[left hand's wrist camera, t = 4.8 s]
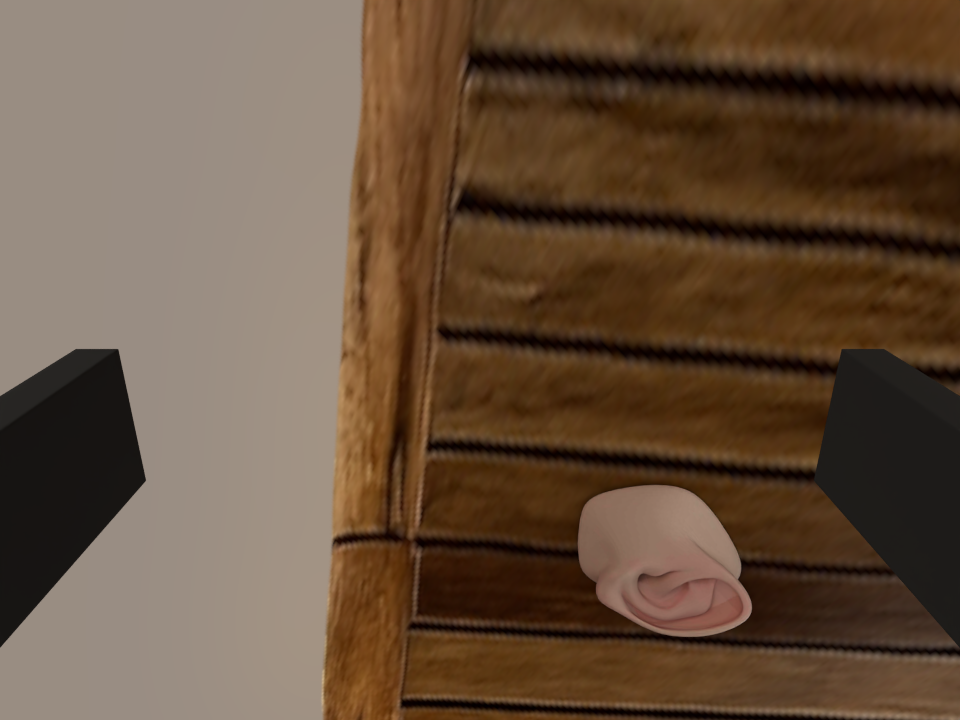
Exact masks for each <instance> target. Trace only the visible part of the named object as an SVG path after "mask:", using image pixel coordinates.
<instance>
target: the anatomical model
mask: <svg viewBox="0 0 960 720" xmlns="http://www.w3.org/2000/svg"><path fill="white" fill-rule="evenodd" d="M578 552H579V561H580V565H581V568H582V570H583V571H584V573H585V574H586V575H587V576H588V577H589V578H590V579H592V580H593V581H595V582H596V583H597V585H596V594H597V596H598V599H599V600H600V601H601V602H602V603H603V604H604V605H606V606H607V607H609V608H611V609H613V610H614V611H616V612H618V613H620V614H621V615H623V616H625V617H627V618H628V619H630V620H632V621H633V622H635V623H637V624H639V625H641V626H643V627H645V628H647V629H649V630H652V631H655V632H658V633H661V634H666V635H671V636H682V637H697V636H707V635H712V634H717V633H720V632H724V631H727V630H729V629H732V628H734V627H736V626H738V625H740V624H741V623H743V622H744V621H746V620H747V619H748V617H749V616H750V614H751V610H752V605H751V600H750V597H749V595H748V593H747V592H746V590H745V589H744V587H743V586H742V584H741V583H740V582H739V581H738V578H739V576H740V573H741V562H740V558H739V556H738V553H737V551H736V549H735V547H734V545H733V543H732V541H731V539H730V537H729V536H728V534H727V532H726V531H725V529H724V528H723V526H722V525H721V523H720V522H719V520H718V519H717V517H716V516H715V515H714V513H713V512H712V511H711V510H710V508H709V507H708V506H707V505H706V504H705V503H704V502H703V501H702V500H701V499H700V498H699V497H697V496H696V495H695V494H693V493H691V492H690V491H688V490H685V489H682V488H679V487H674V486H667V485H644V486H635V487H628V488H622V489H617V490H613V491H609V492H605V493H602V494H599V495H597V496H595V497H593V498H592V499H590V500H589V501H588V502H587V503H586V505H585V506H584V508H583V511H582V514H581V518H580V524H579V534H578Z"/></svg>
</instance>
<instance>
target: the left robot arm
mask: <svg viewBox="0 0 960 720" xmlns="http://www.w3.org/2000/svg"><path fill="white" fill-rule="evenodd" d="M145 481H146V478H145V474H144V469H143V464H142V459H141V455H140V450H139V445H138V440H137V436H136V431H135V426H134V422H133V417H132V412H131V407H130V403H129V398H128V393H127V389H126V384H125V379H124V374H123V370H122V365H121V360H120V355H119V351H118V349H75V350H74V351H72V352H71V353H69V354H67V355H66V356H64V357H63V358H61V359H59V360H58V361H56V362H55V363H53V364H51V365H50V366H48V367H46V368H45V369H43V370H42V371H40V372H38V373H37V374H35V375H34V376H32V377H30V378H29V379H27V380H26V381H24V382H22V383H21V384H19V385H18V386H16V387H14V388H13V389H11V390H9V391H8V392H6V393H5V394H3V395H1V396H0V647H1V646H2V645H3V644H4V643H5V641H6V640H7V639H8V638H9V637H10V636H11V635H12V633H13V632H14V631H15V630H16V629H17V628H18V627H19V625H20V624H21V623H22V622H23V621H24V620H25V619H26V617H27V616H28V615H29V614H30V613H31V612H32V611H33V609H34V608H35V607H36V606H37V605H38V604H39V603H40V601H41V600H42V599H43V598H44V597H45V596H46V595H47V593H48V592H49V591H50V590H51V589H52V588H53V587H54V585H55V584H56V583H57V582H58V581H59V580H60V578H61V577H62V576H63V575H64V574H65V573H66V572H67V570H68V569H69V568H70V567H71V566H72V565H73V564H74V562H75V561H76V560H77V559H78V558H79V557H80V556H81V554H82V553H83V552H84V551H85V550H86V549H87V548H88V546H89V545H90V544H91V543H92V542H93V541H94V540H95V538H96V537H97V536H98V535H99V534H100V533H101V532H102V530H103V529H104V528H105V527H106V526H107V525H108V524H109V522H110V521H111V520H112V519H113V518H114V517H115V516H116V514H117V513H118V512H119V511H120V510H121V509H122V507H123V506H124V505H125V504H126V503H127V502H128V501H129V499H130V498H131V497H132V496H133V495H134V494H135V493H136V491H137V490H138V489H139V488H140V487H141V486H142V485H143V483H144V482H145ZM814 481H815V482H816V483H817V485H818V486H819V487H820V488H821V489H822V490H823V491H824V493H825V494H826V495H827V496H828V497H829V498H830V499H831V501H832V502H833V503H834V504H835V505H836V506H837V508H838V509H839V510H840V511H841V512H842V513H843V514H844V516H845V517H846V518H847V519H848V520H849V521H850V522H851V524H852V525H853V526H854V527H855V528H856V529H857V530H858V532H859V533H860V534H861V535H862V536H863V537H864V538H865V540H866V541H867V542H868V543H869V544H870V545H871V546H872V548H873V549H874V550H875V551H876V552H877V553H878V554H879V556H880V557H881V558H882V559H883V560H884V561H885V562H886V564H887V565H888V566H889V567H890V568H891V569H892V570H893V572H894V573H895V574H896V575H897V576H898V577H899V578H900V580H901V581H902V582H903V583H904V584H905V585H906V587H907V588H908V589H909V590H910V591H911V592H912V593H913V595H914V596H915V597H916V598H917V599H918V600H919V601H920V603H921V604H922V605H923V606H924V607H925V608H926V609H927V611H928V612H929V613H930V614H931V615H932V616H933V617H934V619H935V620H936V621H937V622H938V623H939V624H940V625H941V627H942V628H943V629H944V630H945V631H946V632H947V633H948V635H949V636H950V637H951V638H952V639H953V640H954V641H955V643H956V644H957V645H958V646H959V647H960V396H959V395H957V394H955V393H954V392H952V391H951V390H949V389H947V388H946V387H944V386H943V385H941V384H939V383H938V382H936V381H934V380H933V379H931V378H930V377H928V376H926V375H925V374H923V373H922V372H920V371H918V370H917V369H915V368H914V367H912V366H910V365H909V364H907V363H906V362H904V361H902V360H901V359H899V358H897V357H896V356H894V355H893V354H891V353H889V352H888V351H886V350H885V349H842V351H841V355H840V360H839V365H838V369H837V374H836V379H835V384H834V388H833V393H832V398H831V403H830V407H829V412H828V417H827V422H826V426H825V431H824V436H823V440H822V445H821V450H820V455H819V459H818V464H817V469H816V474H815V478H814Z"/></svg>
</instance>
